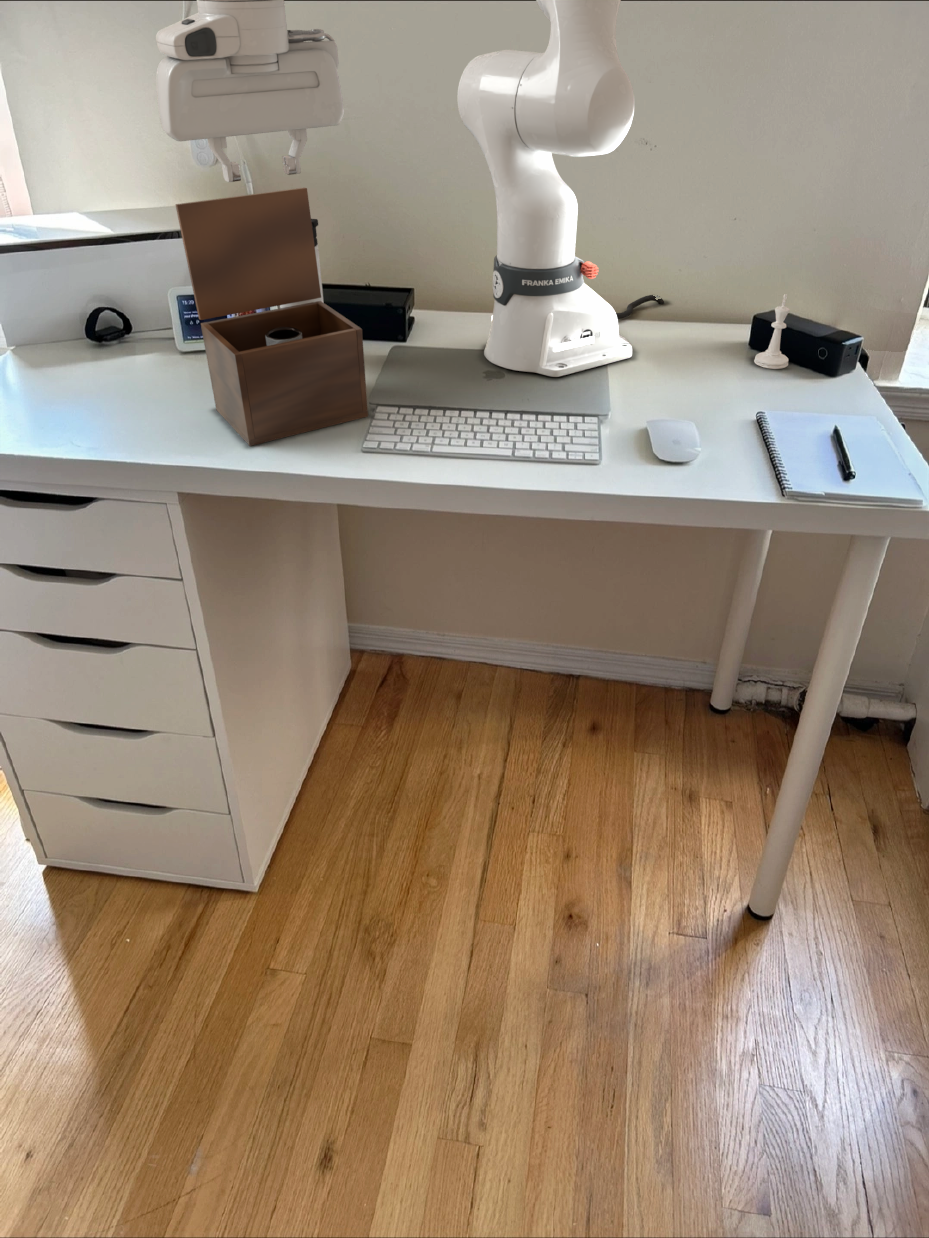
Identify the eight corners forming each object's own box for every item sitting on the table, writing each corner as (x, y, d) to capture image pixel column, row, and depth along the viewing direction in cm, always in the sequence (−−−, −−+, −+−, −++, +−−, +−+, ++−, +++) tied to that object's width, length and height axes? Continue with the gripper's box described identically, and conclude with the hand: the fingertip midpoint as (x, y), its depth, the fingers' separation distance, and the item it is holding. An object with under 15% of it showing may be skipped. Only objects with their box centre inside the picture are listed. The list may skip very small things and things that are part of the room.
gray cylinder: (282, 419, 117) (271, 341, 111) (271, 406, 120) (260, 330, 114) (315, 412, 119) (306, 335, 112) (303, 399, 122) (294, 324, 116)
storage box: (368, 416, 120) (362, 328, 112) (249, 446, 113) (234, 355, 105) (328, 384, 128) (320, 300, 121) (216, 410, 121) (200, 323, 114)
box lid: (307, 188, 113) (304, 187, 113) (177, 205, 106) (175, 204, 107) (321, 297, 120) (319, 296, 121) (200, 320, 113) (198, 319, 114)
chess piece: (751, 366, 133) (765, 298, 127) (756, 354, 137) (769, 287, 130) (786, 371, 131) (801, 302, 125) (789, 359, 135) (805, 291, 129)
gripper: (323, 25, 100) (334, 162, 109) (139, 35, 92) (167, 182, 100) (348, 30, 96) (357, 172, 104) (157, 40, 88) (185, 193, 96)
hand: (263, 177), depth 102 cm, fingers open, 6 cm apart
